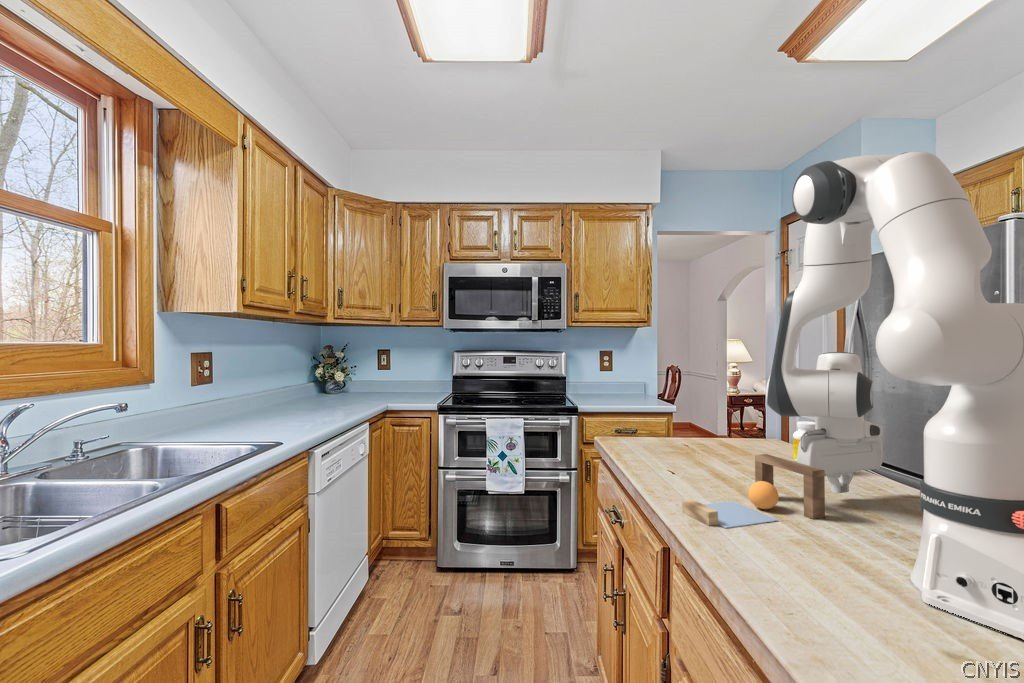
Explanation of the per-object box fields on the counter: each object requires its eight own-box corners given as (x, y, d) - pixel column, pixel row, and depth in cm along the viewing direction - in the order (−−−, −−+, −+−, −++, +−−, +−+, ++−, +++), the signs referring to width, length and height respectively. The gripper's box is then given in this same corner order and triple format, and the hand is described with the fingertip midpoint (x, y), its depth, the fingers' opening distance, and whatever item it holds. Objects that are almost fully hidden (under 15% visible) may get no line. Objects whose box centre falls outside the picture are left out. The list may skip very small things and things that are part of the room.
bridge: (766, 495, 110) (766, 453, 110) (825, 517, 96) (824, 469, 96) (755, 497, 109) (755, 455, 109) (812, 519, 95) (812, 471, 95)
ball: (787, 489, 100) (768, 479, 99) (780, 515, 99) (760, 506, 98) (765, 484, 105) (746, 475, 104) (758, 510, 104) (739, 500, 103)
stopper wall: (718, 524, 93) (717, 511, 93) (708, 525, 92) (708, 512, 92) (690, 510, 100) (690, 498, 100) (682, 512, 100) (682, 499, 100)
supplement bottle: (796, 474, 127) (795, 424, 127) (790, 468, 134) (790, 420, 134) (826, 476, 125) (825, 425, 125) (819, 469, 131) (818, 421, 132)
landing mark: (778, 521, 94) (778, 520, 94) (725, 528, 91) (725, 527, 91) (733, 501, 106) (733, 501, 106) (684, 507, 102) (684, 506, 102)
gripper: (814, 433, 101) (815, 501, 101) (888, 427, 106) (889, 491, 106) (788, 428, 107) (789, 492, 107) (860, 422, 113) (861, 484, 112)
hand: (840, 492), depth 107 cm, fingers closed
